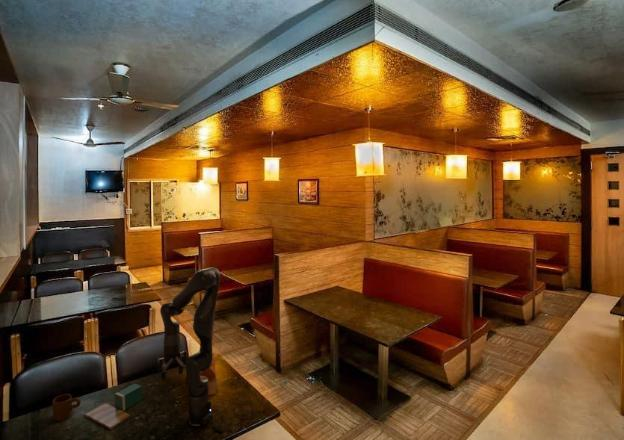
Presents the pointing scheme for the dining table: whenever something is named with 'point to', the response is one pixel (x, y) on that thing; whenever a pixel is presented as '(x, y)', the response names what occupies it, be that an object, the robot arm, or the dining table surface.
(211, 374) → the bread
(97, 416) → the cork mat
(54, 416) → the mug
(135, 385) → the carton
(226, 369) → the dining table surface
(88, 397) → the dining table surface
